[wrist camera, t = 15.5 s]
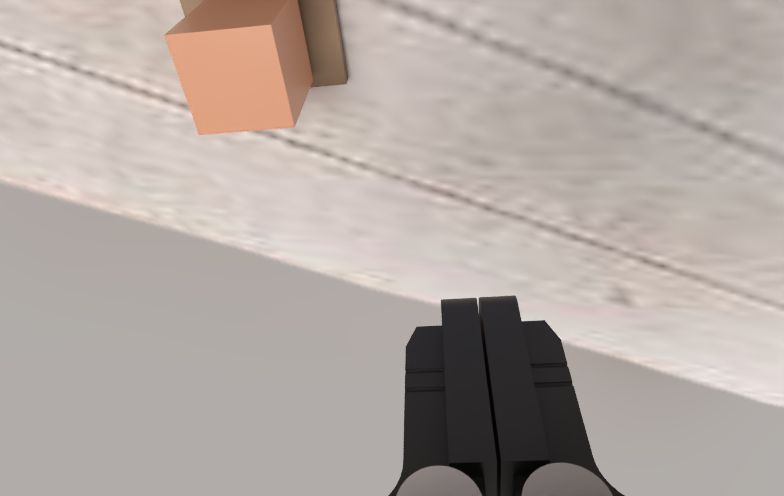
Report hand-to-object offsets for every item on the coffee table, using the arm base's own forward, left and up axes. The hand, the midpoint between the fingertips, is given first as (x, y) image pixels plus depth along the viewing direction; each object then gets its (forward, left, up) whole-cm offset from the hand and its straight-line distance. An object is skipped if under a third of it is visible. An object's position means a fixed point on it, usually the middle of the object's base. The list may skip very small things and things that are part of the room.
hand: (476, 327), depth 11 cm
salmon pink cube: (+8, -7, -25) cm, 27 cm away
